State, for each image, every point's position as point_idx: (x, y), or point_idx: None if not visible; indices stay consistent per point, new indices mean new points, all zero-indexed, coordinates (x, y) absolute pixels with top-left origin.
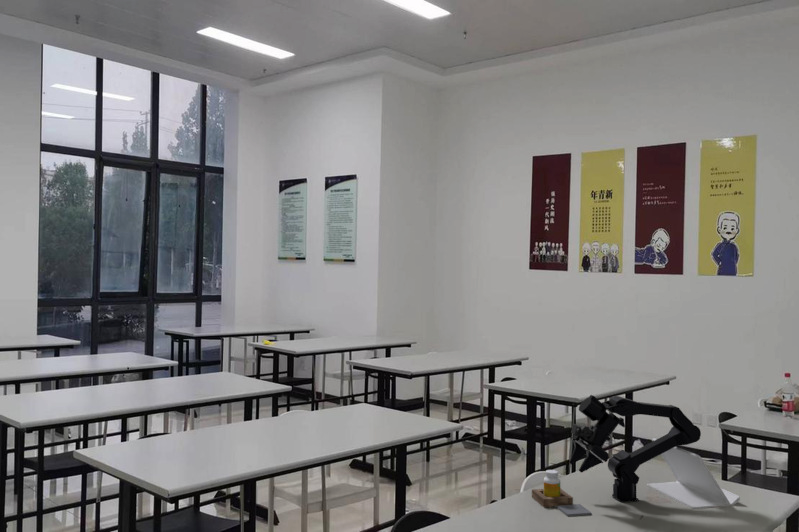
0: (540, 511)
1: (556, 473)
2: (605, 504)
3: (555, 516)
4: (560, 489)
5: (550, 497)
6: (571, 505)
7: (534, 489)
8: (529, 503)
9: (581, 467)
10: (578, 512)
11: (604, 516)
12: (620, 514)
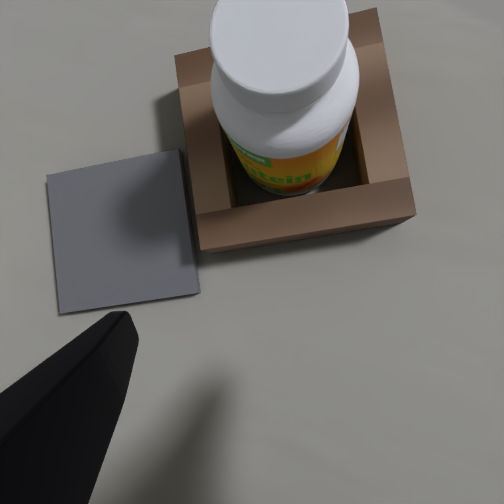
0: (128, 56)
1: (220, 70)
2: (226, 460)
3: (57, 118)
4: (379, 210)
5: (205, 104)
6: (176, 234)
7: (378, 26)
8: None
9: (69, 345)
10: (69, 242)
11: None
12: None
